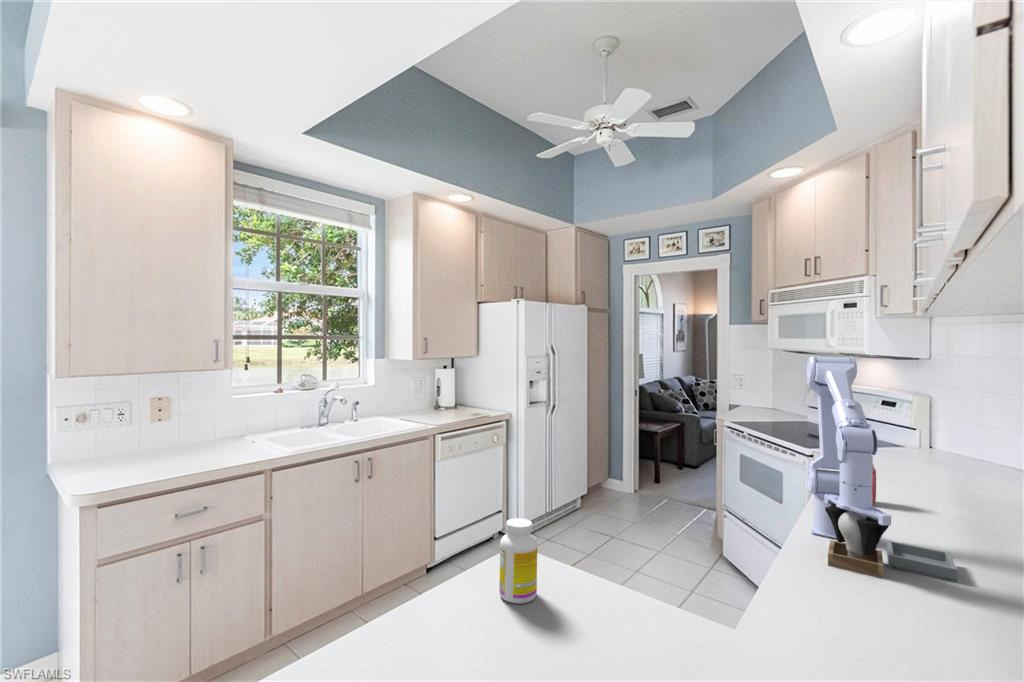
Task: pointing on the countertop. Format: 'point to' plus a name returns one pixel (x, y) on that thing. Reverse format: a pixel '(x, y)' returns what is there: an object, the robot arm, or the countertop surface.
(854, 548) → the lightbulb
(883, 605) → the countertop surface
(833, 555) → the holder collar
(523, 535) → the supplement bottle
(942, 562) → the parts tray
